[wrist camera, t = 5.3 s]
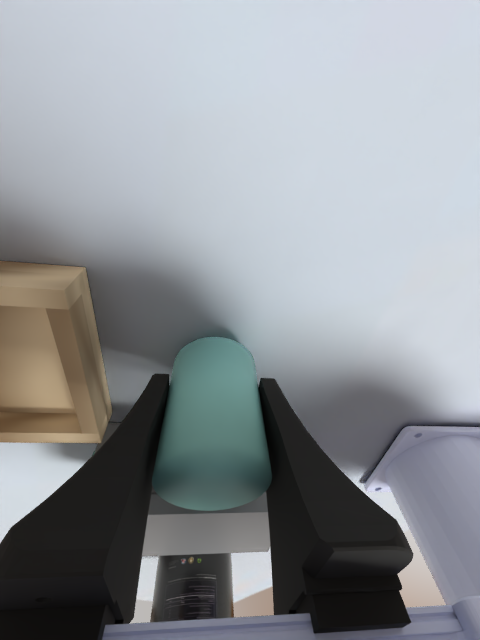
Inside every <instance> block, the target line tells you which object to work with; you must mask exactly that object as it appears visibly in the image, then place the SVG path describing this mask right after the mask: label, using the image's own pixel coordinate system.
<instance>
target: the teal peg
mask: <svg viewBox="0 0 480 640" xmlns="http://www.w3.org/2000/svg"><path fill="white" fill-rule="evenodd" d="M271 481H272V471H271V465H270V459H269V452H268V446H267V439H266V433H265V427H264V420H263V414H262V407H261V401H260V395H259V388H258V382H257V376H256V369H255V363H254V359H253V357H252V355H251V353H250V352H249V351H248V350H247V348H245V347H244V346H243V345H242V344H240V343H238V342H236V341H234V340H231V339H228V338H223V337H206V338H201V339H198V340H195V341H193V342H191V343H189V344H187V345H186V346H185V347H183V348H182V349H181V350H180V351H179V353H178V354H177V356H176V358H175V361H174V365H173V370H172V376H171V381H170V386H169V392H168V397H167V402H166V408H165V413H164V418H163V423H162V429H161V434H160V439H159V445H158V450H157V455H156V461H155V466H154V471H153V477H152V485H153V488H154V490H155V492H156V493H157V494H158V495H159V496H160V497H161V498H162V499H164V500H165V501H167V502H169V503H171V504H173V505H176V506H179V507H182V508H186V509H192V510H201V511H214V510H224V509H230V508H234V507H238V506H241V505H244V504H247V503H249V502H251V501H253V500H255V499H257V498H258V497H260V496H261V495H262V494H263V493H264V492H265V491H266V490H267V489H268V488H269V486H270V484H271Z"/></svg>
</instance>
